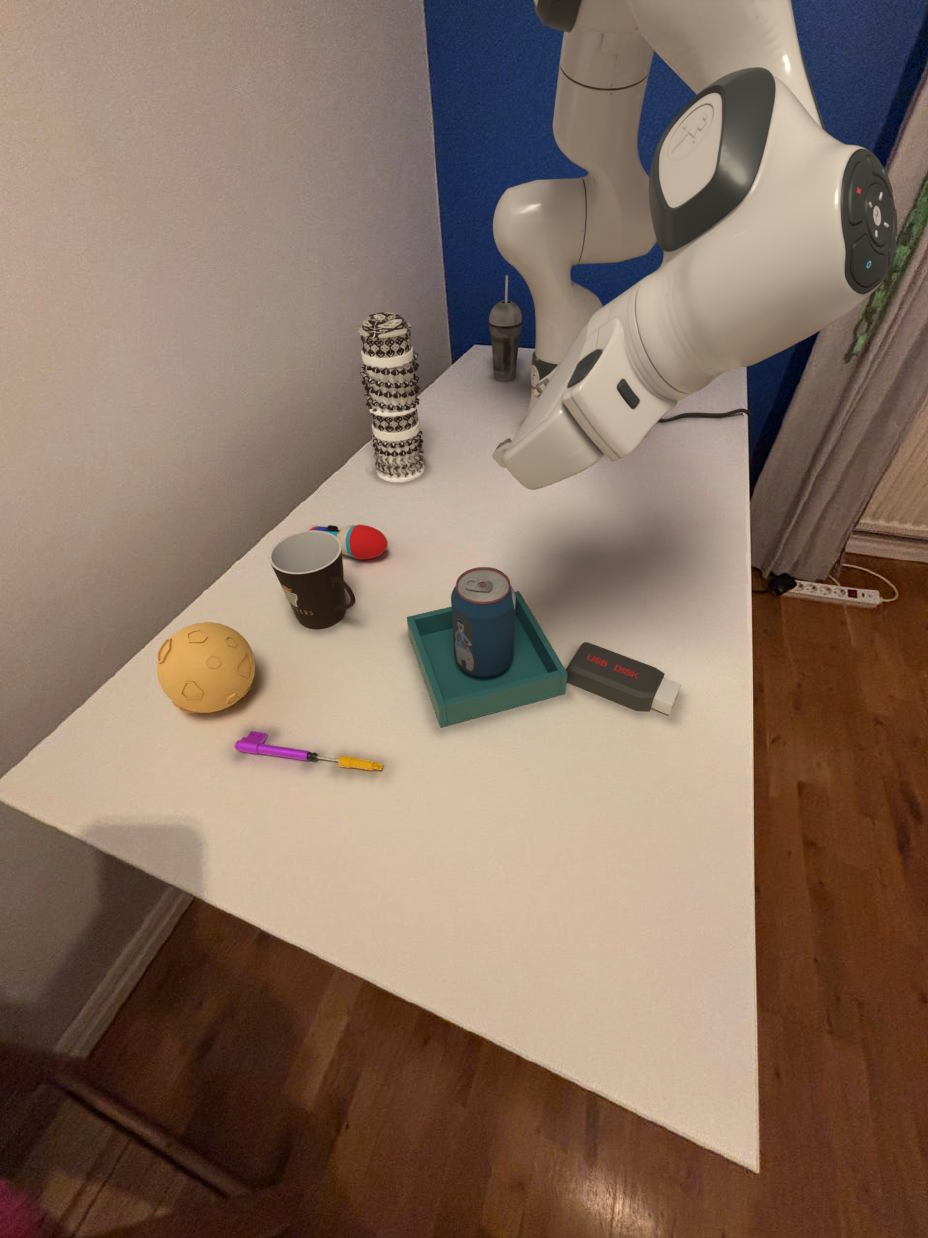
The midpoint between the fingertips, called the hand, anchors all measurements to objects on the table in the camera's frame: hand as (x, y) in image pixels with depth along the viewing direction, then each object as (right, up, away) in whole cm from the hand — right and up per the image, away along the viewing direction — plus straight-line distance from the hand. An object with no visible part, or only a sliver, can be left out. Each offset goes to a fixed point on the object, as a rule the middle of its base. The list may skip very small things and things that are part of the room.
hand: (520, 424), depth 56 cm
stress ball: (-33, -27, +12) cm, 45 cm away
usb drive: (+13, -26, +11) cm, 31 cm away
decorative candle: (-16, +8, +48) cm, 51 cm away
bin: (-3, -24, +14) cm, 28 cm away
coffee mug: (-23, -19, +21) cm, 37 cm away
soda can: (-3, -24, +14) cm, 28 cm away
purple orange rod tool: (-21, -33, +6) cm, 39 cm away
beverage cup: (+4, +35, +77) cm, 84 cm away
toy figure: (-23, -8, +32) cm, 40 cm away
